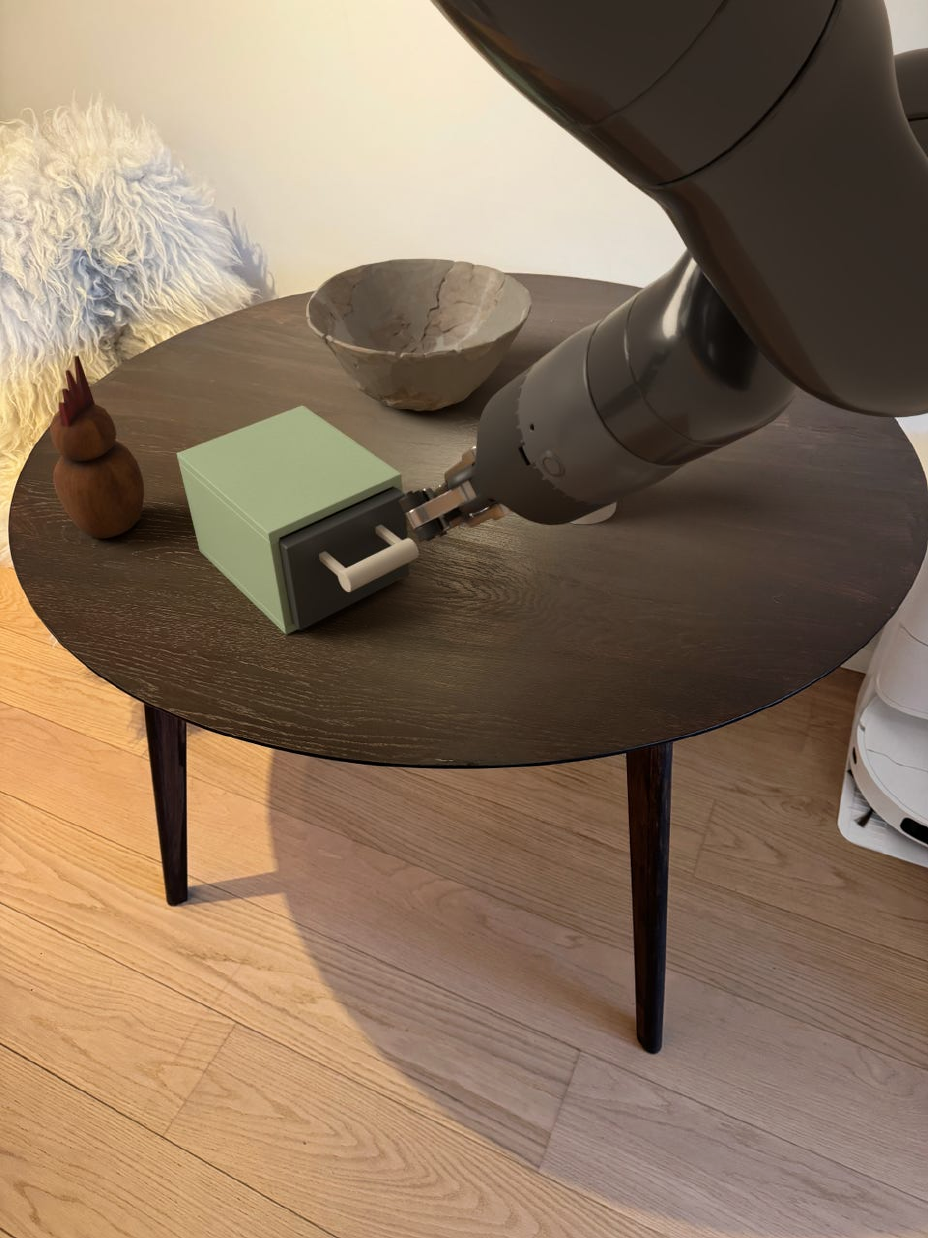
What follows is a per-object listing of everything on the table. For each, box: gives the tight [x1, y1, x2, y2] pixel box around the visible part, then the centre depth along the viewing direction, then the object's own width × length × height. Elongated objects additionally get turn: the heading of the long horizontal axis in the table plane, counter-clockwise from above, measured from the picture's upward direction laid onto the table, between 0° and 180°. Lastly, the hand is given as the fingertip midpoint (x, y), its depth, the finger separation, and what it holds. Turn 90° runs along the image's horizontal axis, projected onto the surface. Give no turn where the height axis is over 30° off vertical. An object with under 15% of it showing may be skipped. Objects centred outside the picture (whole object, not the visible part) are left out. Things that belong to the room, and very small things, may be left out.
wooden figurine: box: [49, 355, 145, 539], centre depth 77 cm, size 7×6×15 cm
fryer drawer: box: [278, 487, 420, 631], centre depth 72 cm, size 17×10×8 cm, turn 40°
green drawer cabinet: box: [176, 405, 403, 636], centre depth 75 cm, size 14×12×10 cm
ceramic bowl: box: [305, 258, 533, 412], centre depth 96 cm, size 22×23×10 cm
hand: (431, 519), depth 58 cm, fingers closed
